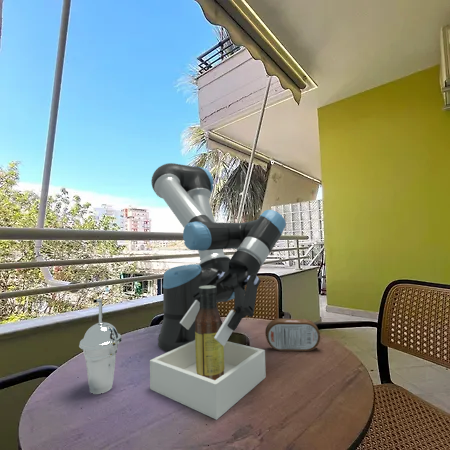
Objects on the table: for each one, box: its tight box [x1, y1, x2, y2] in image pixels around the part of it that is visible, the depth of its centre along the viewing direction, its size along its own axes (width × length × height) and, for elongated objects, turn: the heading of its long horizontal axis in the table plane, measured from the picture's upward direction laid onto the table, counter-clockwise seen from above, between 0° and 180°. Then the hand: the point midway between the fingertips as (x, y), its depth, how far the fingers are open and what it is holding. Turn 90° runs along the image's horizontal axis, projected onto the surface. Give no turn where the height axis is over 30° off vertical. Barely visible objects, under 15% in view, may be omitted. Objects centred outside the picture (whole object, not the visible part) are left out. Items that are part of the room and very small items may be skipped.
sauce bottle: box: [195, 285, 224, 380], centre depth 62 cm, size 7×6×20 cm
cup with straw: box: [78, 298, 123, 395], centre depth 60 cm, size 8×9×20 cm
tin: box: [264, 318, 321, 352], centre depth 78 cm, size 15×3×8 cm, turn 84°
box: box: [149, 340, 267, 421], centre depth 61 cm, size 18×18×6 cm
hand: (199, 333), depth 60 cm, fingers open, 13 cm apart
